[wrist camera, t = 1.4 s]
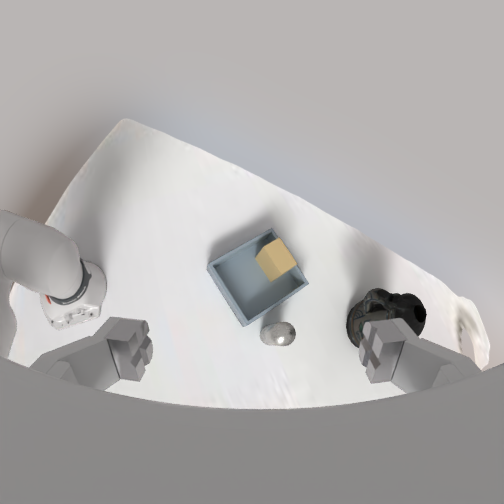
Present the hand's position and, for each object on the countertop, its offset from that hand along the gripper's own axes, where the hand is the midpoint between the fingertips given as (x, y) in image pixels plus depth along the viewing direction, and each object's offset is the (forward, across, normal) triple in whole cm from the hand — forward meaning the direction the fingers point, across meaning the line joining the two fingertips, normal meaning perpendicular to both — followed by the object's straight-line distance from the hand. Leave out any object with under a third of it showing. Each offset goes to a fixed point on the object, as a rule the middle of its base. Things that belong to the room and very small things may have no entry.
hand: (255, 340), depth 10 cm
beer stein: (+62, +32, -38) cm, 80 cm away
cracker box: (+65, +3, -20) cm, 68 cm away
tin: (+55, +3, -36) cm, 66 cm away
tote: (+63, -1, -23) cm, 67 cm away
